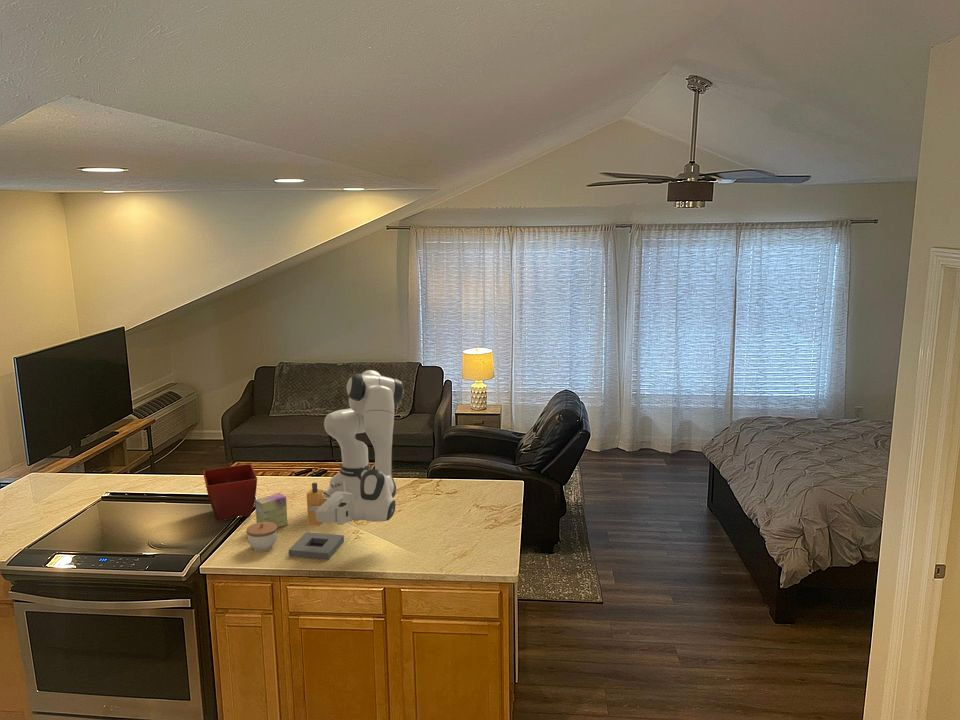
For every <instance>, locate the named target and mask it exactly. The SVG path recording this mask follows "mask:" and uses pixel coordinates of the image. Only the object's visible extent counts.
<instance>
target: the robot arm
mask: <svg viewBox="0 0 960 720" xmlns="http://www.w3.org/2000/svg"><path fill="white" fill-rule="evenodd" d="M346 393H347V394H346V395H347V396H348V405H349V407H350V408H345V409H338V410H335V411H332V412H330V413H327V415H326V416H325V417H324V421H323V426H324V431H326V433H327V434H328V435H329V436H330V437H332V438H333V439H335V440H336V441H337V444H338V445H339V447H340V448H339V449H340V451H341V463H340V464H338V466H337V467H338V468H340V469H339V471H338V472H337V473H336V474H335V475H333V476H332V477H331V478H330V480H329V486H328V487H326V488H325V489H323V494H324V493H325V494H326V495H327V496H329V497H323V498H324V503H323V504H322V505H321V506H318V507H317V506H315V505H310V506H309V510H310V511H314V512H315V520H316V521H318V522H323V523H326V524H327V523H328V524H337V525H338V526H339V525H341V526H342V525H344V524H347V523H348V522H352V521H362V520H363V521H367V522H376V523H377V522H379V523H381V522H387V521H389V520H390V519H392V518H393V516H394V513H395V511H396V503H397V502H396V500H395V499H394V497H395V496H396V493H397V486H396V482H395V479H394V477H393V435H394V434H393V433H394V426H395V425H394V424H395V405H399V404H400V403H401V401H402V399H403V396H404V393H405V392H404V384H403V382H402V381H401V380H399V379H397V378H395V377H388V376H384V375H382V374H380V372H378V371H377V370H373V369H368V370H365V371H363V372H362V373H353V374H352V375H351V376H350V377H349V379H348V381H347V383H346ZM361 433H366V435H367V437H368V439H369V440H370V442H371V444H372V446H373V451H374V468H372V469H370V468H371V467H370V462H369V448H368V445H367V444H365V442H364V441H362V440H358V439H357V438H356V435H357V434H361Z"/></svg>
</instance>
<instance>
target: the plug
mask: <svg viewBox="0 0 960 720" xmlns="http://www.w3.org/2000/svg"><path fill="white" fill-rule="evenodd" d="M324 498H325V497H324V489H318V482H312V483H311V489H310V490H309V491H307V493H306V504H307V505H306V506H307V507H306V510H307V524H308V526H316V527H317V526H318V527H320V526H321V525H322V524H324V522H318V521H316V520H315V512H314V511H310V510H309V506H310V505H315V506H317V507H318V506H321V505H322V504H323V503H324Z"/></svg>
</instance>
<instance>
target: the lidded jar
mask: <svg viewBox="0 0 960 720" xmlns="http://www.w3.org/2000/svg"><path fill="white" fill-rule="evenodd" d="M246 537H247V542H248V545H250V547H252V549H254V550H255V551H257V552H266V551H269V550H270V549H272V547H273V546H274V545H275V543H276V541H277V538H278V528H277V525H276V524H275V523H272V522H259V523H257V522H255V523H253V524H250V525H249V526H248V527H247V528H246Z"/></svg>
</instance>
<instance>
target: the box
mask: <svg viewBox="0 0 960 720" xmlns="http://www.w3.org/2000/svg"><path fill="white" fill-rule="evenodd" d="M254 505H255V517H256V523H259V522H272V523H275V524H276V525H277V529H278V528H281V527H284V526H288V511H287V510H288V507H287V496H286V495H284V494H282V493H279V492H278V493H274V494H270V495H267V496H264V497H261V498H255V501H254Z"/></svg>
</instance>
